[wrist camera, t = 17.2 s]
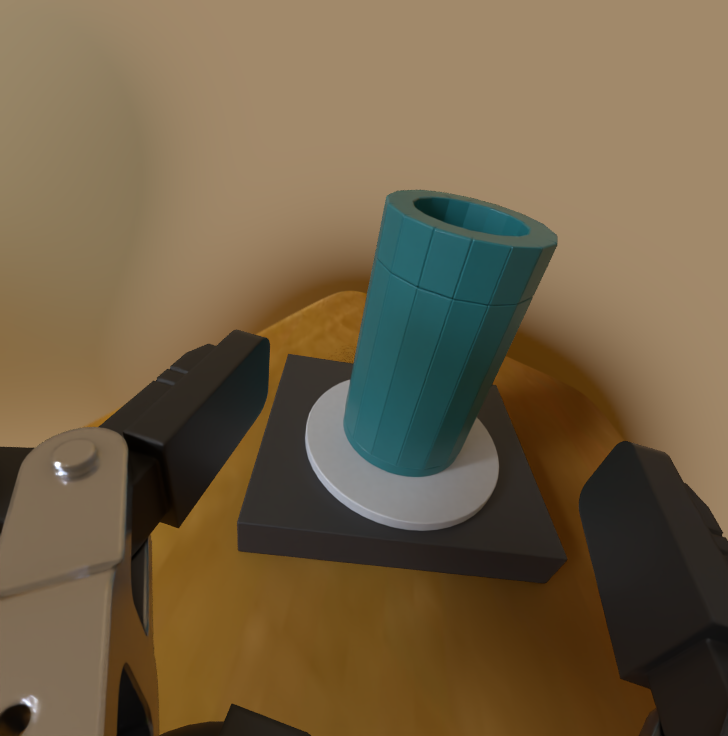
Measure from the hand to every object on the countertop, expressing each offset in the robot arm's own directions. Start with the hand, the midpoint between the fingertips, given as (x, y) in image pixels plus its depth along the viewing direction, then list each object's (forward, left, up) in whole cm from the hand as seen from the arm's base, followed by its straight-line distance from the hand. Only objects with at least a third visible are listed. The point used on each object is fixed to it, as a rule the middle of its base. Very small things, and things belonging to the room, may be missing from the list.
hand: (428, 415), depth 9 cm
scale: (-2, -8, -11) cm, 14 cm away
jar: (-2, -8, -8) cm, 12 cm away
